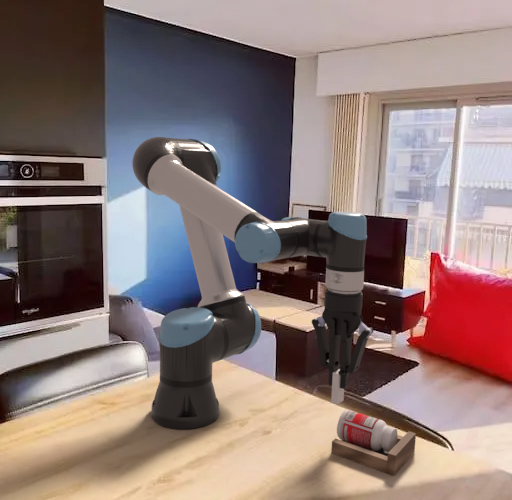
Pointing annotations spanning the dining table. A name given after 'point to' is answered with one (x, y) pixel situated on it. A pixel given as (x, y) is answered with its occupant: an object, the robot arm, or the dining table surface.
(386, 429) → the pill bottle
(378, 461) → the tray
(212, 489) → the dining table surface
